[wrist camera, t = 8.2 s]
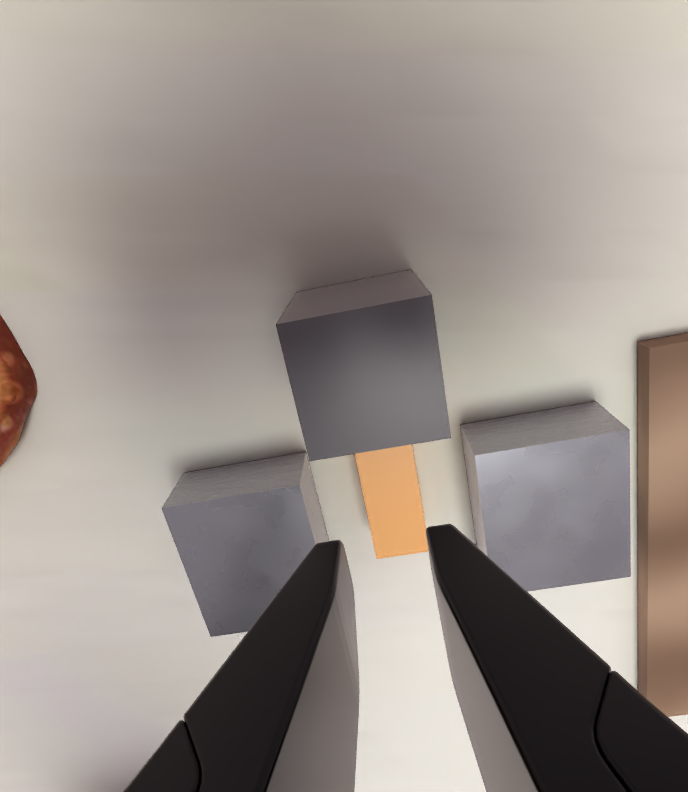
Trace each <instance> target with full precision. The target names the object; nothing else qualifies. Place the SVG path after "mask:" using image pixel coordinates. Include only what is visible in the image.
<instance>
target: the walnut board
mask: <svg viewBox="0 0 688 792" xmlns="http://www.w3.org/2000/svg"><path fill="white" fill-rule="evenodd" d="M637 353H638V692H639V693H640V694H642V695H643V696H644V697H645V698H646V699H647V700H649V701H650V702H651V703H652V704H653V705H654V706H656V707H657V708H658V709H659V710H660V711H661V712H663V713H664V714H665V715H666V716H667V717H670V716H678V715H686V714H688V333H684V334H678V335H673V336H667V337H662V338H656V339H651V340H645V341H640V342H637Z"/></svg>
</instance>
